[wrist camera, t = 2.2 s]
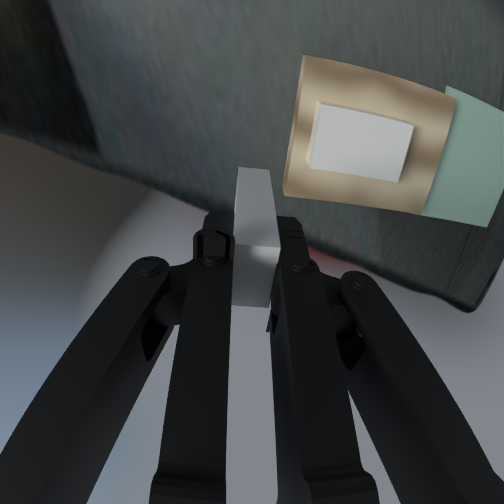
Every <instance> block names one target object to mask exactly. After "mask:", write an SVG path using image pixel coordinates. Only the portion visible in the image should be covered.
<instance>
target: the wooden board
mask: <svg viewBox="0 0 504 504" xmlns="http://www.w3.org/2000/svg"><path fill="white" fill-rule="evenodd" d="M317 100H319V101H324V102H330V103H335V104H340V105H345V106H350V107H354V108H359V109H363V110H368V111H372V112H376V113H380V114H384V115H388V116H392V117H396V118H399V119H403V120H406V121H407V122H409V123H411V124H412V125H414V128H413V132H412V136H411V139H410V143H409V147H408V150H407V154H406V157H405V160H404V164H403V167H402V170H401V174H400V177H399V180H398V183H396V182H391V181H386V180H380V179H375V178H369V177H363V176H357V175H351V174H345V173H338V172H332V171H325V170H318V169H311V168H309V165H308V163H307V161H306V160H307V155H308V149H309V144H310V138H311V133H312V127H313V122H314V116H315V111H316V105H317ZM456 101H457V99H456V98H454V97H451V96H449V95H447V94H444V93H441V92H439V91H436V90H433V89H431V88H428V87H425V86H422V85H420V84H417V83H414V82H411V81H408V80H405V79H402V78H398V77H395V76H392V75H388V74H385V73H382V72H378V71H374V70H371V69H367V68H363V67H359V66H355V65H351V64H347V63H342V62H338V61H333V60H328V59H323V58H318V57H313V56H307V55H303V57H302V64H301V70H300V77H299V83H298V90H297V97H296V103H295V109H294V116H293V122H292V129H291V135H290V141H289V147H288V153H287V160H286V166H285V172H284V178H283V184H282V187H283V191H284V196H290V197H299V198H308V199H317V200H325V201H333V202H340V203H348V204H355V205H362V206H369V207H376V208H383V209H390V210H396V211H402V212H408V213H414V214H420V215H421V212H422V209H423V207H424V204H425V201H426V199H427V196H428V193H429V191H430V188H431V185H432V182H433V179H434V176H435V173H436V170H437V167H438V164H439V161H440V158H441V155H442V151H443V148H444V145H445V142H446V138H447V135H448V131H449V128H450V124H451V120H452V116H453V113H454V109H455V105H456Z"/></svg>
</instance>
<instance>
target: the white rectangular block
mask: <svg viewBox="0 0 504 504" xmlns="http://www.w3.org/2000/svg"><path fill="white" fill-rule="evenodd" d="M413 128H414V125H412V124H411V123H409V122H407V121H406V120H403V119H399V118H396V117H392V116H388V115H384V114H380V113H376V112H372V111H368V110H363V109H359V108H354V107H350V106H345V105H340V104H335V103H330V102H324V101H319V100H317V105H316V111H315V116H314V122H313V127H312V133H311V138H310V144H309V149H308V155H307V160H306V161H307V163H308V165H309V168H311V169H318V170H325V171H332V172H338V173H345V174H351V175H357V176H363V177H369V178H375V179H380V180H386V181H391V182H396V183H398V180H399V177H400V174H401V170H402V167H403V164H404V160H405V157H406V154H407V150H408V147H409V143H410V139H411V136H412V132H413Z"/></svg>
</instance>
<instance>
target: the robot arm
mask: <svg viewBox="0 0 504 504" xmlns="http://www.w3.org/2000/svg"><path fill="white" fill-rule="evenodd" d="M270 299H271V311H270V316H269V321H268V326H267V330H266V332H269V330H270V344H271V360H272V379H273V398H274V415H275V436H276V457H277V481H278V499H277V503H276V504H380V503H379V496H378V490H377V486H376V482H375V480H374V479H373V477H372V475H371V474H369V473H368V472H366V471H364V469H363V467H362V464H361V460H360V453H359V447H358V442H357V437H356V431H355V425H354V420H353V415H352V409H351V404H350V399H349V394H348V391H349V393H350V395H351V397H352V399H353V401H354V403H355V405H356V407H357V410H358V412H359V414H360V416H361V418H362V420H363V422H364V424H365V426H366V429H367V431H368V433H369V435H370V437H371V439H372V441H373V444H374V445H375V448H376V450H377V452H378V454H379V457H380V458H381V461H382V463H383V465H384V467H385V470H386V472H387V474H388V476H389V478H390V481H391V483H392V485H393V487H394V490H395V491H396V494H397V496H398V498H399V501H400V503H401V504H504V481H503V480H502V479H501V478H500V477H499V476H498V475H497V474H496V473H495V472H494V471H493V469H492V467H491V465H490V463H489V461H488V459H487V457H486V455H485V454H484V452H483V450H482V448H481V446H480V444H479V442H478V440H477V439H476V437H475V435H474V433H473V431H472V429H471V428H470V426H469V424H468V422H467V421H466V419H465V417H464V415H463V414H462V412H461V410H460V408H459V407H458V405H457V403H456V402H455V400H454V399H453V397H452V395H451V393H450V392H449V390H448V389H447V387H446V385H445V383H444V382H443V380H442V379H441V377H440V376H439V374H438V372H437V371H436V369H435V368H434V366H433V364H432V363H431V362H430V360H429V358H428V357H427V355H426V354H425V352H424V351H423V349H422V347H421V346H420V344H419V343H418V342H417V340H416V338H415V337H414V336H413V334H412V333H411V331H410V330H409V328H408V327H407V325H406V324H405V322H404V321H403V319H402V318H401V316H400V315H399V314H398V312H397V311H396V309H395V308H394V307H393V305H392V304H391V302H390V301H389V300H388V298H387V297H386V295H385V294H384V293H383V291H382V290H381V288H380V287H379V286H378V284H377V283H376V282H375V281H374V280H373V279H372V278H371V277H370V276H369V275H367V274H365V273H362V272H359V271H349V272H346V273H344V274H343V275H342V277H341V279H338V278H335V277H331V276H329V275H326V274H324V273H322V272H320V270H319V267H318V265H317V263H315V261H313V260H312V259H311V258H310V256H309V252H308V248H307V244H306V240H305V236H304V233H303V229H302V225H301V223H300V222H299V221H298V220H297V219H296V218H294V217H284V216H276V212H275V205H274V199H273V192H272V186H271V179H270V173H269V170H264V169H254V168H243V167H239V168H238V179H237V189H236V200H235V211H234V213H230V212H217V211H211V212H210V213H209V214H208V215H206V216H205V219H204V224H203V228H202V229H201V230H199V231H198V232H196V234H195V235H194V237H193V259H192V260H191V261H189V262H187V263H185V264H182V265H177V266H169V264H168V263H167V262H166V261H165V260H164V259H162V258H159V257H154V256H149V257H143V258H140V259H138V260H136V261H135V262H134V263H132V264H131V266H130V267H129V268H128V269H127V271H126V272H125V273H124V274H123V275H122V277H121V278H120V279H119V281H118V282H117V283H116V284H115V286H114V287H113V288H112V289H111V291H110V292H109V293H108V295H107V296H106V297H105V298H104V300H103V301H102V302H101V303H100V305H99V306H98V307H97V309H96V310H95V311H94V313H93V314H92V316H91V317H90V318H89V319H88V321H87V322H86V323H85V325H84V326H83V328H82V329H81V330H80V332H79V333H78V334H77V336H76V337H75V339H74V340H73V341H72V343H71V344H70V345H69V347H68V348H67V350H66V351H65V352H64V354H63V356H62V357H61V359H60V360H59V361H58V363H57V364H56V366H55V367H54V368H53V370H52V372H51V373H50V374H49V376H48V377H47V379H46V380H45V382H44V383H43V385H42V386H41V388H40V389H39V391H38V393H37V394H36V396H35V397H34V399H33V401H32V402H31V403H30V405H29V407H28V408H27V410H26V411H25V413H24V415H23V416H22V418H21V420H20V421H19V423H18V425H17V426H16V428H15V430H14V431H13V433H12V435H11V436H10V438H9V440H8V442H7V443H6V445H5V447H4V449H3V451H2V452H1V454H0V504H86V503H87V501H88V499H89V497H90V494H91V493H92V490H93V488H94V486H95V484H96V482H97V480H98V478H99V475H100V473H101V471H102V469H103V467H104V465H105V463H106V461H107V459H108V457H109V455H110V452H111V450H112V448H113V446H114V444H115V442H116V440H117V438H118V436H119V434H120V432H121V430H122V428H123V426H124V423H125V422H126V420H127V418H128V416H129V414H130V411H131V410H132V408H133V406H134V404H135V402H136V400H137V398H138V396H139V394H140V392H141V390H142V388H143V386H144V384H145V382H146V380H147V378H148V376H149V374H150V373H151V371H152V369H153V367H154V365H155V363H156V361H157V359H158V357H159V355H160V353H161V351H162V350H163V348H164V345H165V344H166V342H167V340H168V338H169V336H170V334H171V332H172V331H173V328H174V325H179V324H180V327H179V332H178V338H177V343H176V349H175V355H174V360H173V366H172V373H171V379H170V385H169V391H168V398H167V404H166V411H165V418H164V425H163V433H162V441H161V448H160V456H159V464H158V468H157V472H156V473H155V475H154V477H153V480H152V483H151V489H150V498H149V504H226V437H227V404H228V375H229V373H228V372H229V349H230V324H231V305H237V306H250V307H265V308H268V307H269V304H270Z"/></svg>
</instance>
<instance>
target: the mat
mask: <svg viewBox="0 0 504 504" xmlns="http://www.w3.org/2000/svg"><path fill="white" fill-rule="evenodd" d="M445 94H447V95H449V96H451V97H454V98H456V99H457V101H456V105H455V109H454V113H453V116H452V120H451V124H450V128H449V131H448V135H447V138H446V142H445V145H444V148H443V151H442V155H441V158H440V161H439V164H438V167H437V170H436V173H435V176H434V179H433V182H432V185H431V188H430V191H429V193H428V196H427V199H426V201H425V204H424V207H423V209H422V212H421V215H423V216H429V217H435V218H440V219H446V220H451V221H457V222H462V223H467V224H472V225H477V226H482V227H487V226H488V224H489V222H490V219H491V217H492V215H493V213H494V210H495V208H496V206H497V203H498V201H499V199H500V196H501V194H502V191H503V189H504V112H502V111H500V110H499V109H497V108H495V107H493V106H491V105H489V104H487V103H485V102H483V101H481V100H478V99H476V98H474V97H472V96H470V95H468V94H465V93H463V92H461V91H459V90H456V89H454V88H452V87H449V86H446V90H445ZM411 214H414V213H411ZM417 215H420V214H417Z"/></svg>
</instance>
